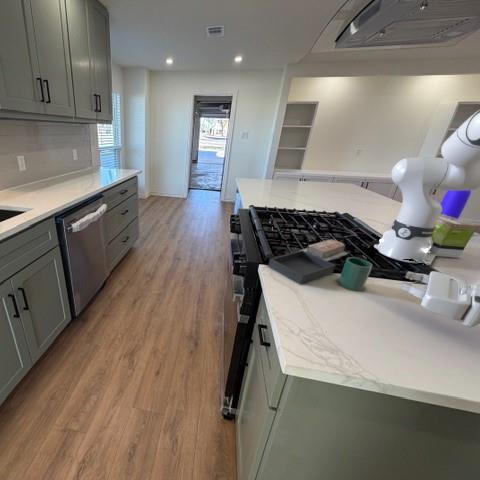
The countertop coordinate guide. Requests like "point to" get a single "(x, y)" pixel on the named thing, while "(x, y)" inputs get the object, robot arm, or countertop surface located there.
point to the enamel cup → (355, 273)
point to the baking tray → (301, 266)
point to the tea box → (451, 236)
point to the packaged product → (327, 250)
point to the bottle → (454, 202)
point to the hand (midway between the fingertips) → (404, 279)
